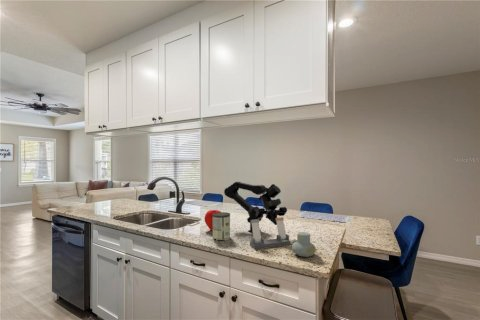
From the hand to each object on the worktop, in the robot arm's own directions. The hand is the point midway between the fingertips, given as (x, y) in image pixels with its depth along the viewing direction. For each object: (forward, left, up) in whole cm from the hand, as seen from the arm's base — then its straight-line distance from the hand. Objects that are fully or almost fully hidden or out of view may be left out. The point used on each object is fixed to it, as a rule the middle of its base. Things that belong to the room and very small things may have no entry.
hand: (276, 224), depth 135 cm
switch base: (+10, 0, -9) cm, 13 cm away
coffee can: (+11, -30, -9) cm, 33 cm away
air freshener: (+17, +18, -9) cm, 26 cm away
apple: (-2, -43, -9) cm, 44 cm away
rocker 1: (+16, -6, -5) cm, 17 cm away
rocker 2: (+5, +5, -5) cm, 9 cm away
